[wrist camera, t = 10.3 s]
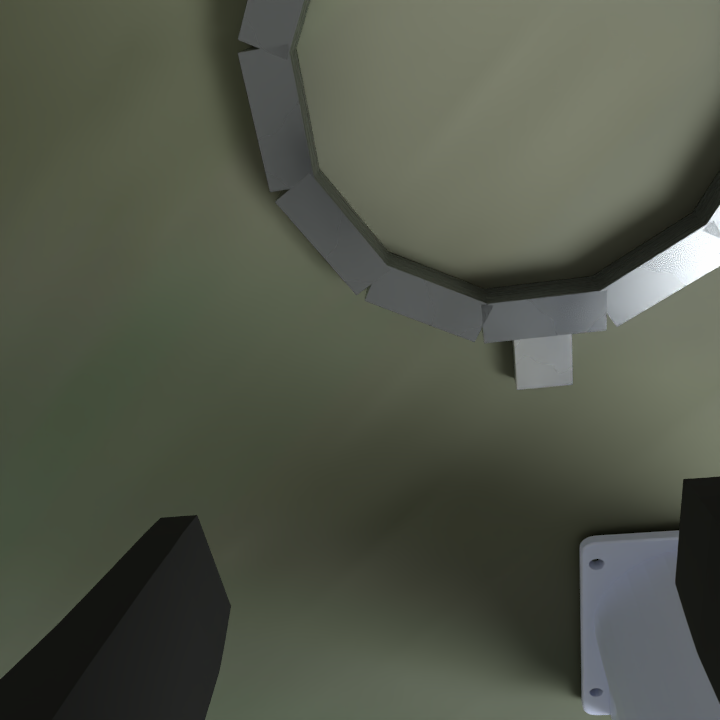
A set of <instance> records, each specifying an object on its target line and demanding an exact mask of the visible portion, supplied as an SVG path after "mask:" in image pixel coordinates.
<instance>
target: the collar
mask: <svg viewBox="0 0 720 720" xmlns="http://www.w3.org/2000/svg"><path fill="white" fill-rule="evenodd" d="M309 3H310V0H248V1H247V5H246V9H245V13H244V17H243V21H242V25H241V29H240V33H239V37H238V40H240V41H242V42H245V43H247V44H249V45H252V46H254V48H249V49H246V50H243V51H241V52H239V53H238V56H239V61H240V65H241V69H242V74H243V78H244V82H245V87H246V91H247V95H248V99H249V104H250V108H251V112H252V117H253V121H254V125H255V130H256V134H257V138H258V143H259V147H260V151H261V156H262V160H263V164H264V168H265V173H266V177H267V181H268V186H269V190H270V192H273V191H280V190H283V191H282V192H281V193H280V195H279V197H278V198H277V200H276V201H275V202H276V204H277V205H278V206H279V207H280V208H281V209H282V210H283V212H284V213H285V214H286V215H287V216H288V217H289V218H290V220H291V221H292V222H293V223H294V224H295V225H296V226H297V228H298V229H299V230H300V231H301V232H302V233H303V235H304V236H305V237H306V238H307V239H308V240H309V241H310V243H311V244H312V245H313V246H314V247H315V248H316V249H317V251H318V252H319V253H320V254H321V255H322V256H323V257H324V259H325V260H326V261H327V262H328V263H329V264H330V265H331V267H332V268H333V269H334V270H335V271H336V272H337V273H338V275H339V276H340V277H341V278H342V279H343V280H344V281H345V283H346V284H347V285H348V286H349V287H350V288H351V289H352V291H353V292H354V293H355V294H356V295H357V294H359V293H360V292H361V291H363V290H364V289H365V288H367V291H366V296H365V301H367V302H369V303H372V304H375V305H377V306H380V307H382V308H385V309H388V310H390V311H393V312H396V313H398V314H401V315H404V316H406V317H409V318H412V319H414V320H417V321H420V322H422V323H425V324H428V325H430V326H433V327H436V328H438V329H441V330H444V331H446V332H449V333H452V334H454V335H457V336H460V337H462V338H465V339H468V340H470V341H473V342H475V340H476V338H477V336H478V334H479V333H480V331H481V329H482V332H483V338H484V343H492V342H501V341H511V340H512V345H513V360H514V376H515V383H516V387H517V390H521V389H531V388H541V387H552V386H562V385H573V378H572V334H576V333H586V332H595V331H605V330H606V328H607V314H608V315H609V317H610V318H611V319H612V321H613V322H614V324H615V325H616V326H619V325H621V324H622V323H624V322H626V321H628V320H629V319H631V318H633V317H634V316H636V315H638V314H639V313H641V312H643V311H644V310H646V309H648V308H649V307H651V306H653V305H654V304H656V303H658V302H659V301H661V300H663V299H665V298H666V297H668V296H670V295H671V294H673V293H675V292H676V291H678V290H680V289H681V288H683V287H685V286H686V285H688V284H690V283H691V282H693V281H695V280H697V279H698V278H700V277H702V276H703V275H705V274H707V273H708V272H710V271H712V270H713V269H715V268H717V267H718V266H720V171H719V173H718V174H717V176H716V177H715V179H714V180H713V182H712V184H711V185H710V187H709V188H708V190H707V191H706V193H705V194H704V196H703V197H702V199H701V200H700V202H699V204H698V205H697V207H696V208H695V210H694V211H693V213H691V214H690V215H688V216H686V217H685V218H683V219H682V220H680V221H679V222H677V223H675V224H674V225H672V226H671V227H669V228H667V229H666V230H664V231H663V232H661V233H660V234H658V235H656V236H655V237H653V238H652V239H650V240H649V241H647V242H645V243H644V244H642V245H641V246H639V247H637V248H636V249H634V250H633V251H631V252H630V253H628V254H626V255H625V256H623V257H622V258H620V259H619V260H617V261H615V262H614V263H612V264H611V265H609V266H607V267H606V268H604V269H603V270H601V271H600V272H598V273H596V274H595V275H593V276H591V277H583V278H574V279H566V280H557V281H549V282H540V283H532V284H524V285H515V286H507V287H498V288H490V289H483V288H480V287H478V286H475V285H473V284H470V283H468V282H465V281H462V280H460V279H457V278H455V277H452V276H449V275H447V274H444V273H442V272H439V271H436V270H434V269H431V268H429V267H426V266H423V265H421V264H418V263H416V262H413V261H411V260H408V259H405V258H403V257H400V256H398V255H395V254H392V253H390V252H388V251H387V250H386V248H385V247H384V246H383V245H382V244H381V242H380V241H379V240H378V239H377V238H376V236H375V235H374V234H373V233H372V232H371V230H370V229H369V228H368V227H367V226H366V224H365V223H364V222H363V221H362V219H361V218H360V217H359V216H358V215H357V213H356V212H355V211H354V210H353V209H352V207H351V206H350V205H349V204H348V203H347V201H346V200H345V199H344V198H343V196H342V195H341V194H340V193H339V192H338V190H337V189H336V188H335V187H334V186H333V184H332V183H331V182H330V181H329V180H328V178H327V177H326V176H325V175H324V173H323V172H322V171H321V170H320V169H319V164H318V159H317V153H316V148H315V143H314V138H313V133H312V128H311V122H310V117H309V112H308V107H307V102H306V96H305V91H304V86H303V81H302V76H301V71H300V65H299V60H298V55H297V50H296V47H297V44H298V40H299V37H300V33H301V30H302V27H303V23H304V20H305V17H306V13H307V10H308V6H309Z"/></svg>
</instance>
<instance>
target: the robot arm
mask: <svg viewBox="0 0 720 720" xmlns="http://www.w3.org/2000/svg"><path fill="white" fill-rule="evenodd" d="M594 559H599V560H598V561H592V560H594ZM230 608H231V605H230V603H229V600H228V597H227V595H226V592H225V589H224V586H223V584H222V581H221V578H220V576H219V573H218V570H217V567H216V565H215V562H214V559H213V557H212V554H211V551H210V549H209V546H208V543H207V540H206V538H205V535H204V532H203V530H202V527H201V524H200V521H199V519H198V516H197V515H193V516H180V517H166V518H160V519H159V520H158V521H157V522H156V523H155V524H154V525H153V526H152V527H151V528H150V529H149V530H148V531H147V532H146V533H145V534H144V535H143V536H142V537H141V538H140V539H139V540H138V541H137V542H136V543H135V544H134V545H133V546H132V548H131V549H130V550H129V551H128V552H127V553H126V554H125V555H124V556H123V557H122V558H121V559H120V560H119V561H118V562H117V563H116V564H115V565H114V567H113V568H112V569H111V570H110V571H109V572H108V573H107V574H106V575H105V576H104V577H103V578H102V579H101V580H100V581H99V582H98V583H97V584H96V585H95V586H94V587H93V589H92V590H91V591H90V592H89V593H88V594H87V595H86V596H85V597H84V598H83V599H82V600H81V601H80V602H79V603H78V604H77V605H76V606H75V607H74V608H73V609H72V610H71V611H70V612H69V613H68V614H67V615H66V616H65V617H64V618H63V620H62V621H61V622H60V623H59V624H58V625H57V626H56V627H55V628H54V629H53V630H51V631H50V632H49V633H48V634H47V635H46V636H45V637H44V638H43V639H42V640H41V641H40V642H39V643H38V644H37V645H36V646H35V647H34V648H33V649H32V650H31V651H30V652H29V653H27V654H26V655H25V656H24V657H23V658H22V659H21V660H20V661H19V662H18V663H17V664H16V665H15V666H14V667H13V668H12V669H11V670H10V671H9V672H8V673H7V674H6V675H5V676H4V677H2V678H1V679H0V720H205V717H206V714H207V711H208V707H209V704H210V701H211V697H212V694H213V691H214V687H215V684H216V681H217V677H218V674H219V670H220V665H221V660H222V654H223V649H224V644H225V638H226V632H227V626H228V620H229V614H230ZM580 622H581V698H582V705H583V709H584V711H586V712H587V713H589V714H591V715H611V718H612V720H720V477H709V478H696V479H683V491H682V503H681V515H680V528H679V530H676V531H660V532H644V533H629V534H613V535H597V536H590V537H587V538H586V539H584V540H583V541H582V542H581V544H580Z"/></svg>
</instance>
